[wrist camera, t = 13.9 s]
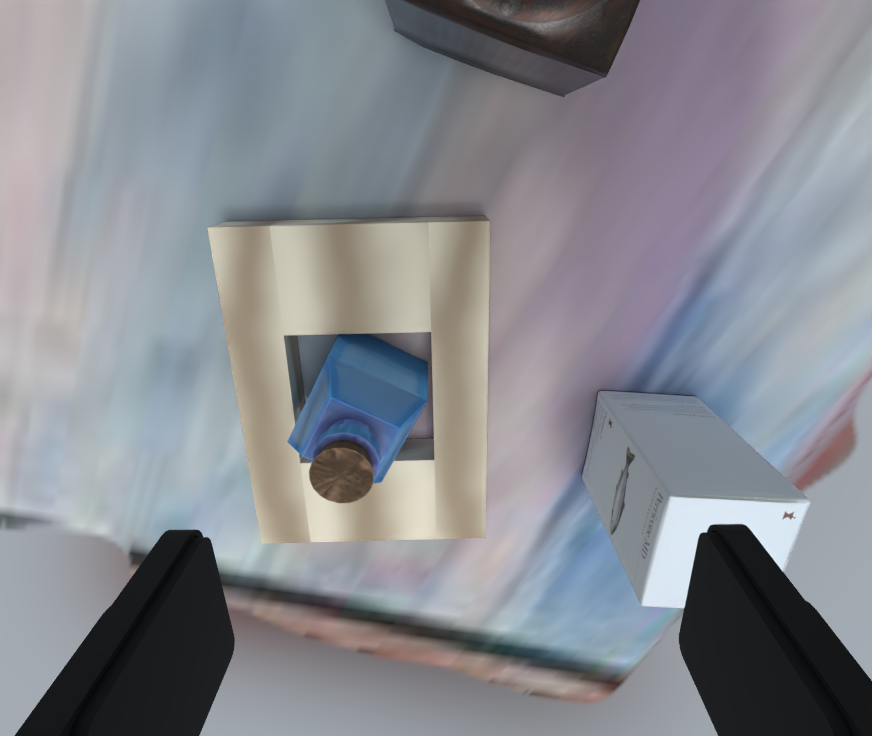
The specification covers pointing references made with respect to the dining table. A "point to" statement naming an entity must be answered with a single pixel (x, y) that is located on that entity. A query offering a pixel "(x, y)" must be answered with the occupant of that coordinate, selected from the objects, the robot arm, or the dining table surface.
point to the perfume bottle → (359, 415)
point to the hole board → (360, 314)
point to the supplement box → (680, 488)
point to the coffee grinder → (522, 36)
